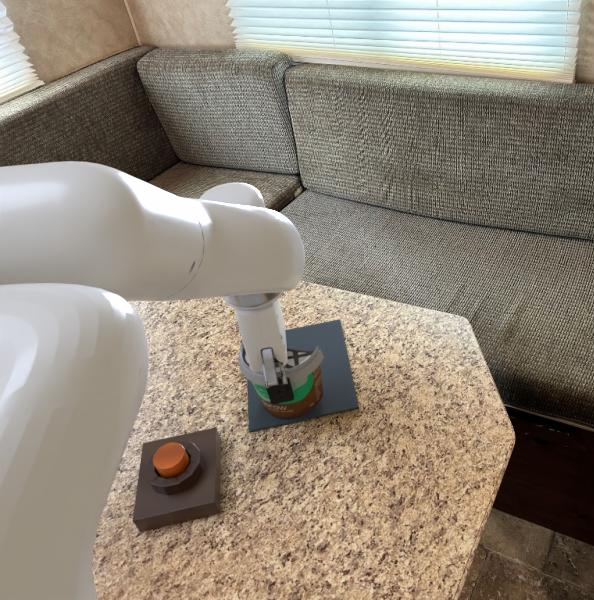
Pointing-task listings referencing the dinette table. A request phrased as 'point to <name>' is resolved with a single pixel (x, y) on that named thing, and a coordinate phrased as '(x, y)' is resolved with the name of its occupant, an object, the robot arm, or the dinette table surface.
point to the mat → (333, 373)
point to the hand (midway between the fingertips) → (280, 379)
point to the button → (171, 460)
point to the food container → (302, 378)
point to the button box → (180, 483)
